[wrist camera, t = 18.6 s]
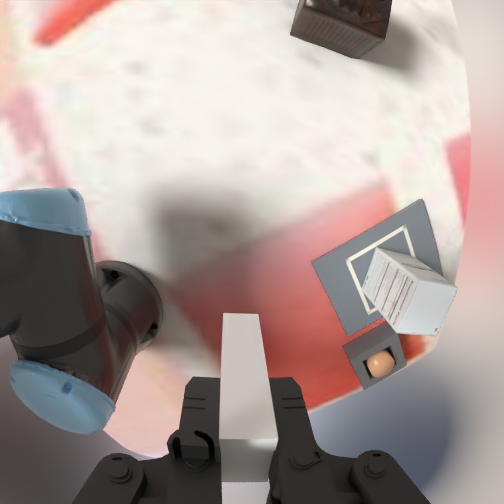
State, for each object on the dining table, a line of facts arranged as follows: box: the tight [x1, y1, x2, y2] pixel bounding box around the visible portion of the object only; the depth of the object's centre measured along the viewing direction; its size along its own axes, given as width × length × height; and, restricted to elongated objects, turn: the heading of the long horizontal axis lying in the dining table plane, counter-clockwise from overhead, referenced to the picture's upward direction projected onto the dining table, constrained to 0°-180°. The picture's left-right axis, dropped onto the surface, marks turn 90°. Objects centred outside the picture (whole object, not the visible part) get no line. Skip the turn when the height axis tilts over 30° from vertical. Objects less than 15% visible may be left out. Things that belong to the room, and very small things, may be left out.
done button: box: [364, 348, 394, 377], centre depth 45 cm, size 4×4×4 cm
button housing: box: [343, 321, 407, 390], centre depth 46 cm, size 9×9×4 cm
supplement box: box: [362, 247, 458, 336], centre depth 36 cm, size 7×7×13 cm
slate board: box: [311, 199, 443, 336], centre depth 43 cm, size 20×15×1 cm
